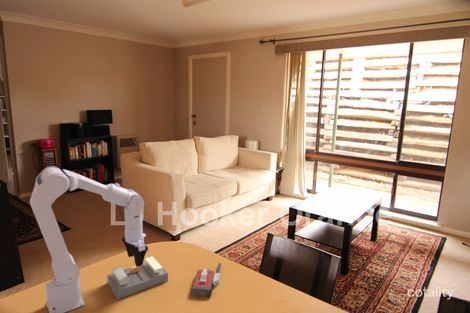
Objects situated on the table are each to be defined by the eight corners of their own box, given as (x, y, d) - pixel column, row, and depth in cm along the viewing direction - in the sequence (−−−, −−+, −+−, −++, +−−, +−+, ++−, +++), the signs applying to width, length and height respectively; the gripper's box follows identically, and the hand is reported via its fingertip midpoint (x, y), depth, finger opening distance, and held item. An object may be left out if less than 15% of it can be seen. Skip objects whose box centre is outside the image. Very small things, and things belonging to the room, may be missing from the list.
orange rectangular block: (132, 273, 109) (132, 268, 109) (130, 271, 111) (130, 266, 110) (140, 270, 111) (140, 266, 111) (138, 268, 112) (138, 264, 112)
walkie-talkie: (216, 300, 102) (222, 266, 122) (216, 288, 101) (222, 256, 121) (190, 298, 103) (200, 265, 122) (190, 286, 102) (200, 255, 121)
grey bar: (120, 285, 101) (120, 281, 101) (111, 272, 108) (111, 269, 108) (129, 282, 103) (129, 278, 103) (120, 269, 110) (120, 266, 110)
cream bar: (154, 273, 108) (154, 270, 108) (144, 261, 115) (144, 258, 115) (162, 270, 110) (162, 267, 110) (152, 259, 117) (152, 256, 117)
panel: (117, 299, 100) (116, 291, 100) (107, 282, 109) (106, 275, 108) (167, 280, 111) (167, 273, 111) (155, 266, 120) (155, 259, 119)
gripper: (153, 230, 104) (154, 266, 107) (137, 215, 115) (138, 249, 118) (132, 235, 100) (134, 273, 103) (118, 220, 111) (120, 254, 114)
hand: (135, 260), depth 110 cm, fingers open, 7 cm apart
